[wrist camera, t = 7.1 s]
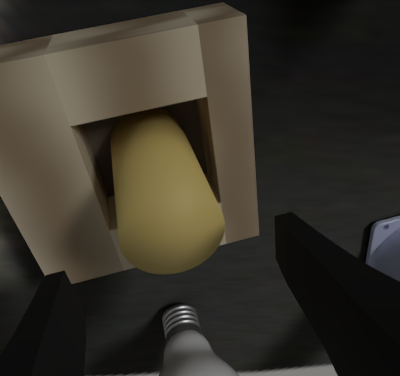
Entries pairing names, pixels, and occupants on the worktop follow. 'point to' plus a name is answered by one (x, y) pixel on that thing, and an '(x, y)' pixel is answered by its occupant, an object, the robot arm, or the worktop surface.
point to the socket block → (105, 120)
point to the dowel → (161, 195)
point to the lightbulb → (189, 346)
